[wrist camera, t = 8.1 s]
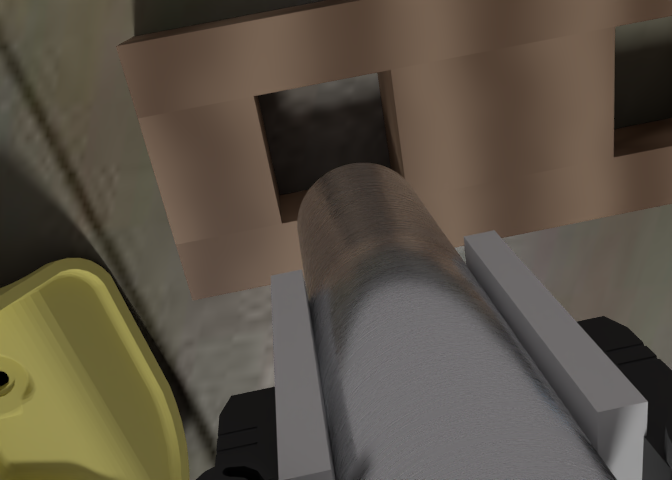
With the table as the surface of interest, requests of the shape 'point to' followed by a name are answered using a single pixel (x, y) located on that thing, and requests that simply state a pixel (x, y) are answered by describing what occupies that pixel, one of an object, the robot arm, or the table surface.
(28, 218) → the table surface
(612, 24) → the brown block with holes
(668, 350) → the table surface
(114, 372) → the plastic component
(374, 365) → the steel pin
